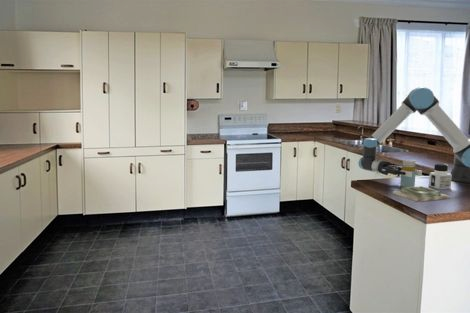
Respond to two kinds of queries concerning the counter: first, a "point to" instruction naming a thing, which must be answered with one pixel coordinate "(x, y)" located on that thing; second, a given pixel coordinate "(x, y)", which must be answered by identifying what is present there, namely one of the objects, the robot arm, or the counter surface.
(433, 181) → the container
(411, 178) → the bottle
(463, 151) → the robot arm
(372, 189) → the counter surface
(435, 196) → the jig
